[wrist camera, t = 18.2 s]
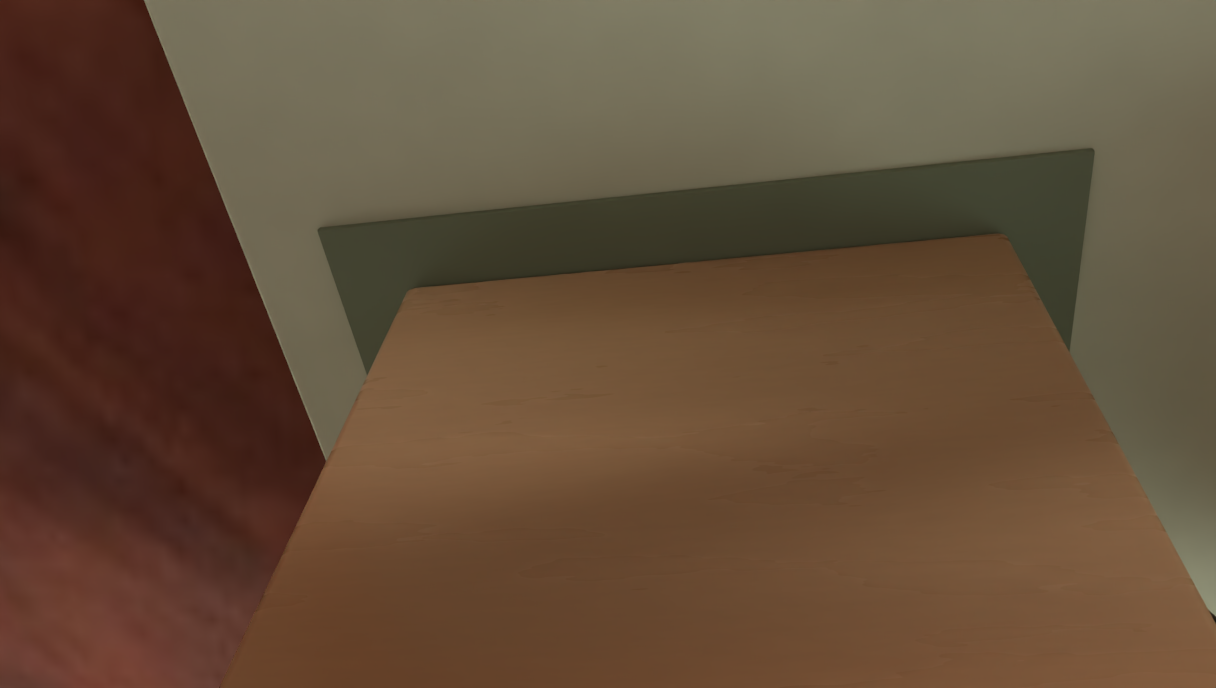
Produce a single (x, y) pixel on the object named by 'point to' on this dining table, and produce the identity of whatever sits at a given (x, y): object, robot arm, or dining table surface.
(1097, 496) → the letter i block
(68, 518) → the dining table surface
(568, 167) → the mat
